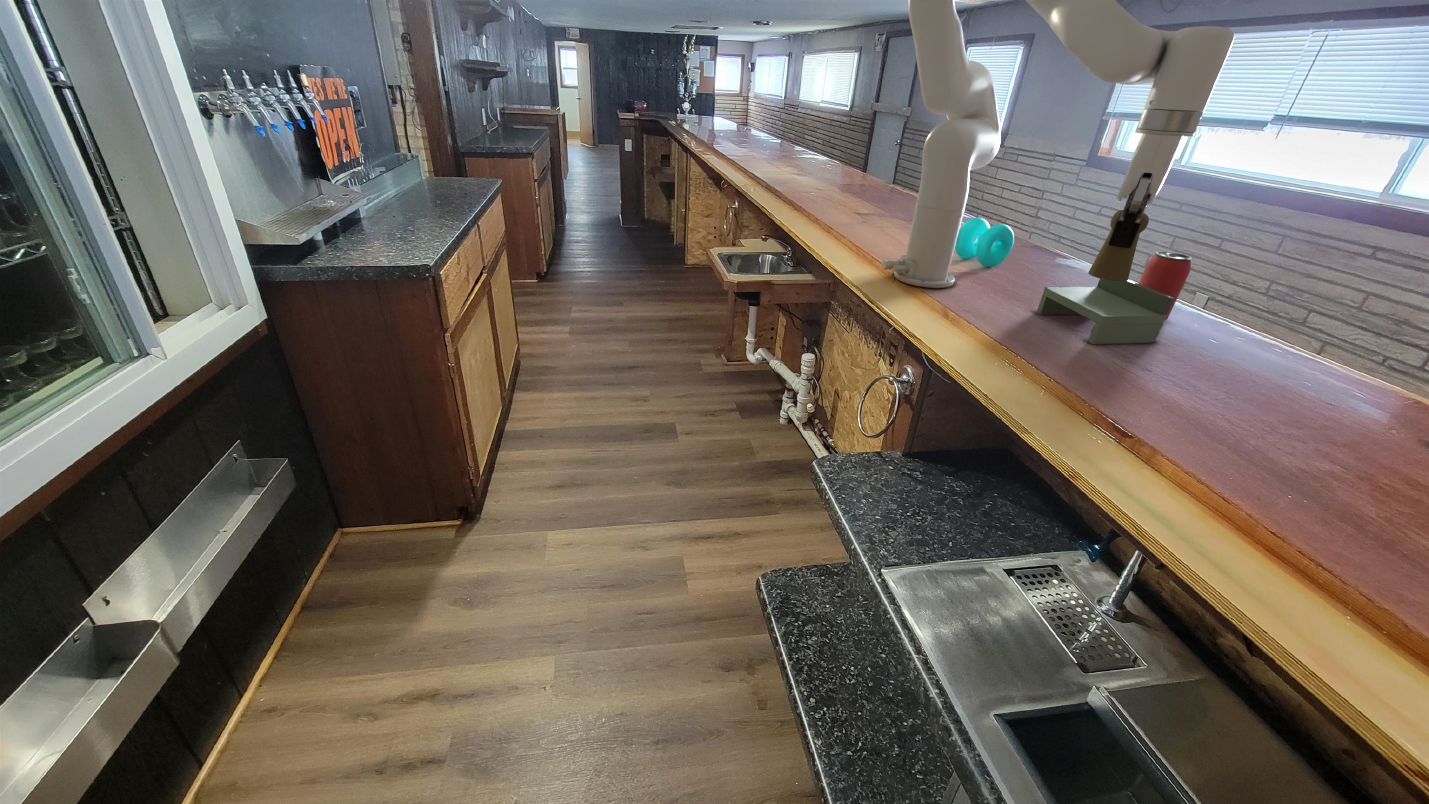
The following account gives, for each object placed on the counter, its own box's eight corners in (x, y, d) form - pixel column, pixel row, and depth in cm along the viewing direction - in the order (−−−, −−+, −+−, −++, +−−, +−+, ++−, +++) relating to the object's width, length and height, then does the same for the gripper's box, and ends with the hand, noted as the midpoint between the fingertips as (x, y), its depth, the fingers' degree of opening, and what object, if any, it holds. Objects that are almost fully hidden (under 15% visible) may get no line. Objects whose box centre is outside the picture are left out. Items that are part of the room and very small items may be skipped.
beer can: (1153, 312, 111) (1181, 251, 105) (1174, 324, 105) (1204, 261, 99) (1119, 309, 111) (1144, 249, 105) (1137, 322, 106) (1165, 258, 100)
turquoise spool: (977, 255, 144) (988, 215, 139) (1009, 266, 136) (1022, 224, 131) (947, 258, 140) (957, 217, 135) (978, 270, 132) (990, 226, 127)
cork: (1115, 283, 94) (1142, 215, 89) (1080, 273, 99) (1104, 208, 93) (1135, 279, 97) (1163, 213, 91) (1101, 269, 101) (1125, 206, 96)
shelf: (1092, 344, 95) (1111, 299, 91) (1036, 312, 108) (1050, 271, 104) (1154, 342, 97) (1175, 298, 93) (1091, 311, 110) (1107, 271, 106)
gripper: (1141, 121, 94) (1100, 231, 103) (1135, 123, 82) (1089, 248, 91) (1196, 124, 90) (1148, 238, 99) (1199, 127, 78) (1144, 257, 87)
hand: (1121, 242), depth 95 cm, fingers closed on cork, 5 cm apart
